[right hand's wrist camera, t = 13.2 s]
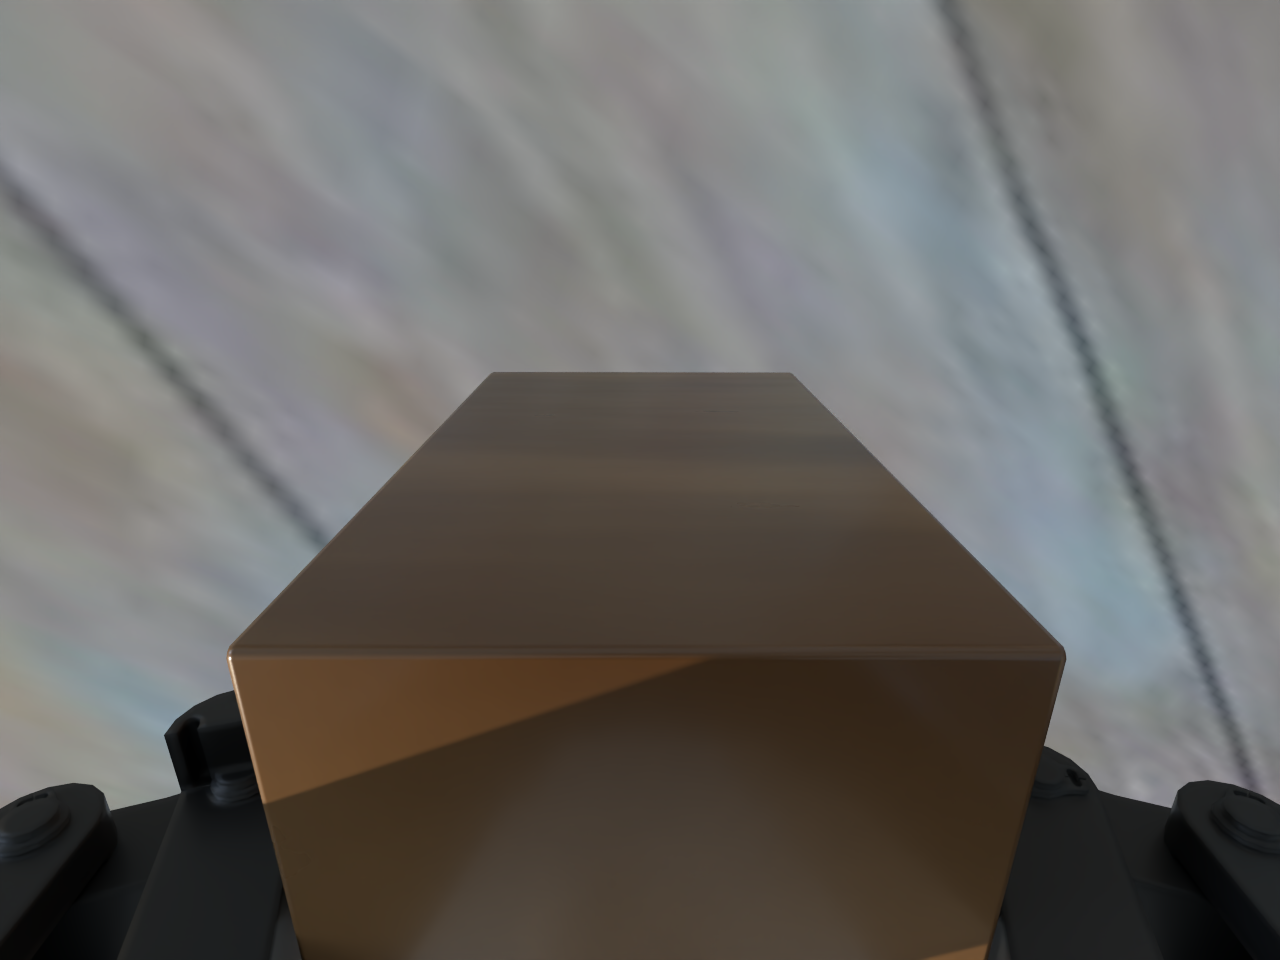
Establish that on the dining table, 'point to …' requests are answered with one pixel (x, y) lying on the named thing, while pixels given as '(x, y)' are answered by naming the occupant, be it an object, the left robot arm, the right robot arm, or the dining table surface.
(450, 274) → the dining table surface
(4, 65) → the dining table surface
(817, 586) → the box
